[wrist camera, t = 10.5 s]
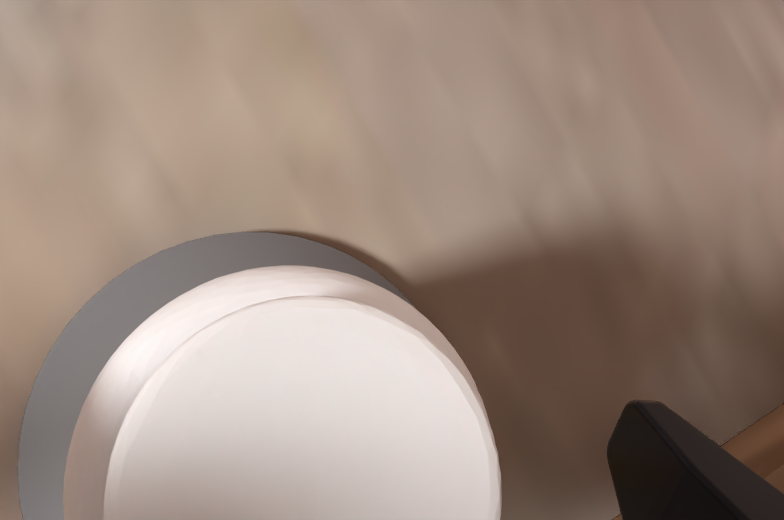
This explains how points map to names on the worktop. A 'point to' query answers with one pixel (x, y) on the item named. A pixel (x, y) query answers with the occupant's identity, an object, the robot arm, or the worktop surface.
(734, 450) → the puzzle board
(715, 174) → the worktop surface
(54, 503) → the rubber mat
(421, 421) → the supplement bottle
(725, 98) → the worktop surface
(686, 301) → the worktop surface
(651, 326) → the worktop surface
